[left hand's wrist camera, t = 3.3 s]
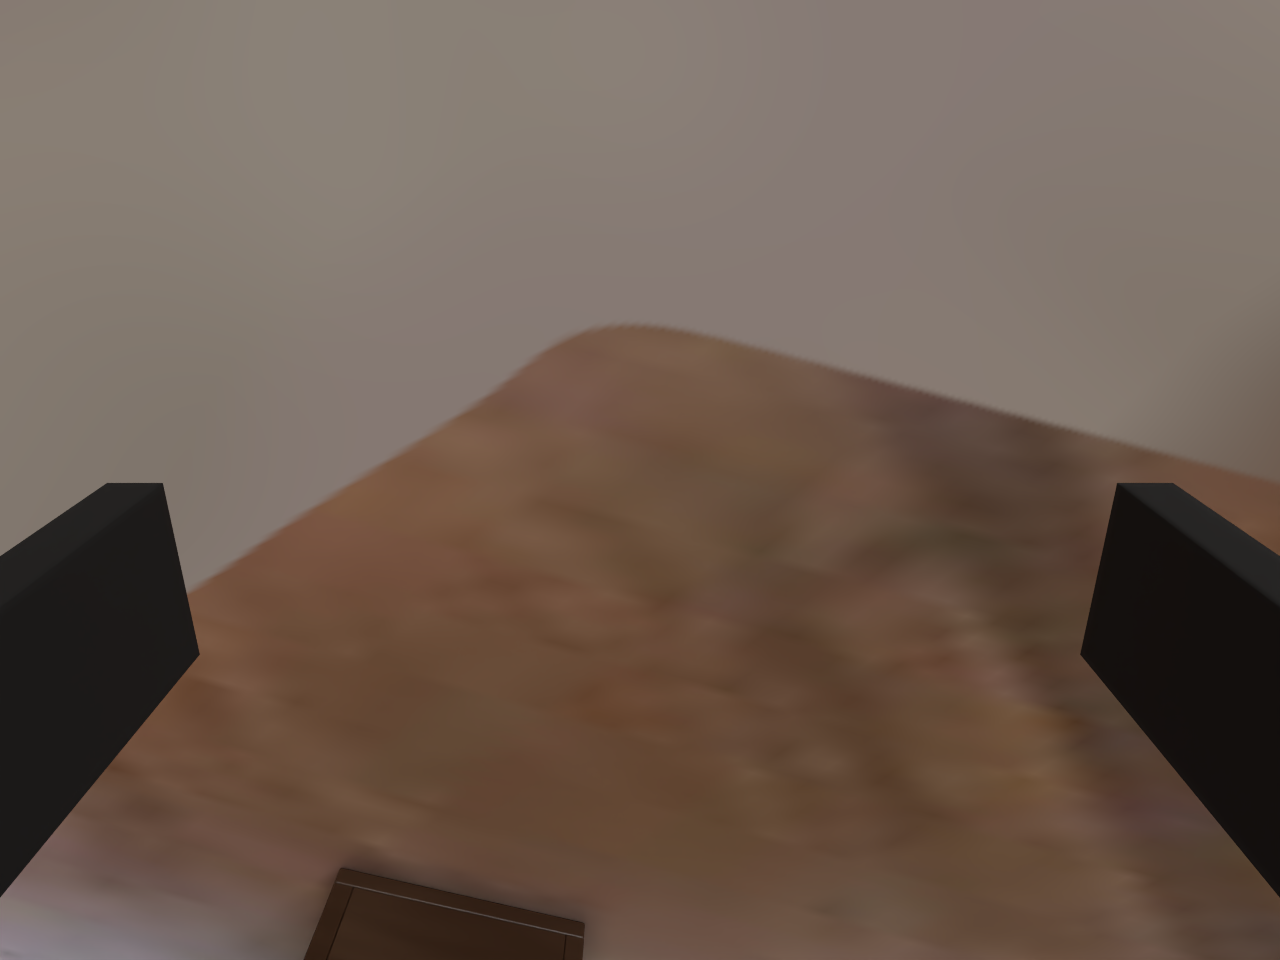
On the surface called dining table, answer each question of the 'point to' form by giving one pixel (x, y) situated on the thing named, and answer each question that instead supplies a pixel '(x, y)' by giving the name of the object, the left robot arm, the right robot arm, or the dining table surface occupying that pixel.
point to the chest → (433, 926)
